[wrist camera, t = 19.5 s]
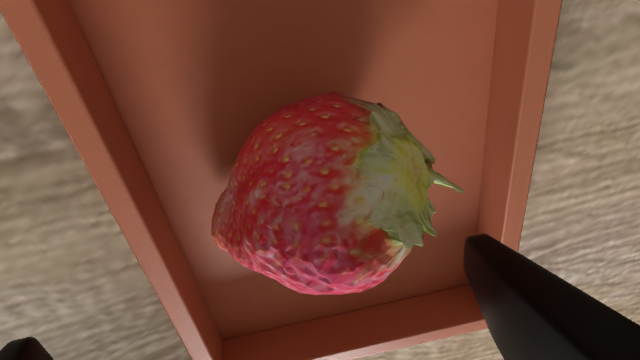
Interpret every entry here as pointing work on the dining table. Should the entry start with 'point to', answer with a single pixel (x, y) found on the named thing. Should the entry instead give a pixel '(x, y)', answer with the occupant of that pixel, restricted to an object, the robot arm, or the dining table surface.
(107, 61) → the terracotta tray
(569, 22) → the dining table surface
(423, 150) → the fruit
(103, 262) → the dining table surface
